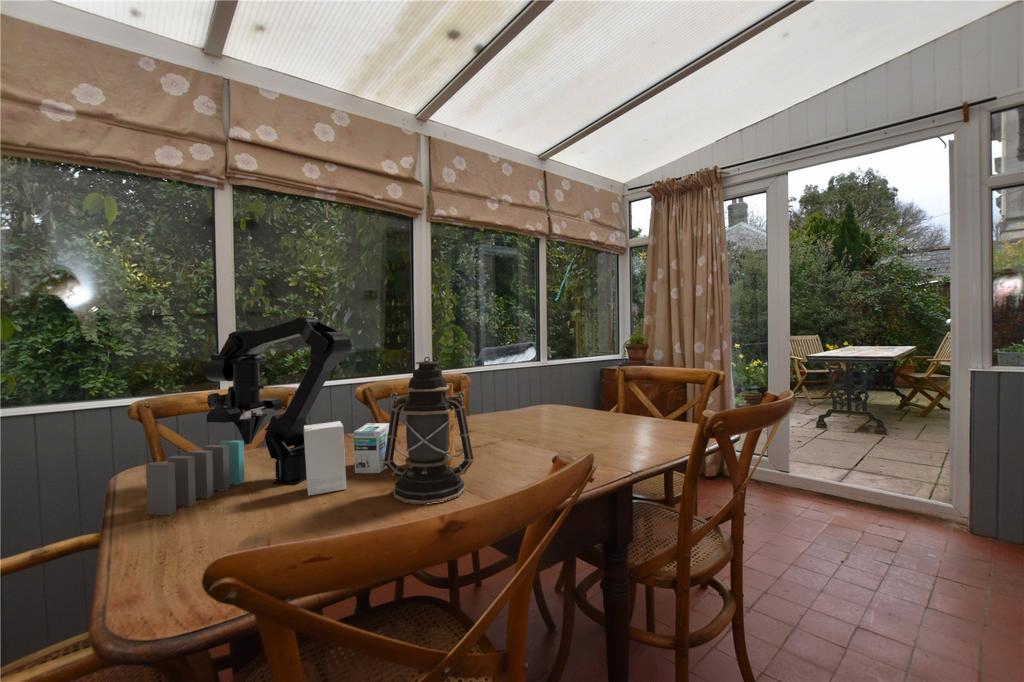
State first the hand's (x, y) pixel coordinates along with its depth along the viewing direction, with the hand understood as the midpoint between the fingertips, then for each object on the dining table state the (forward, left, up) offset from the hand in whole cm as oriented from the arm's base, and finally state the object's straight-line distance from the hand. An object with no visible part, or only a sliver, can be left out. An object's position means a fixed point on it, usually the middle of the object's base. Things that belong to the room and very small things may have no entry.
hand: (248, 444), depth 112 cm
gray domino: (0, +23, -8) cm, 24 cm away
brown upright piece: (-43, -14, -8) cm, 46 cm away
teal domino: (0, +5, -8) cm, 9 cm away
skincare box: (-25, +6, -8) cm, 27 cm away
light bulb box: (-28, -11, -8) cm, 31 cm away
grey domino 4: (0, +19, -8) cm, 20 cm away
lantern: (-49, +4, -8) cm, 50 cm away
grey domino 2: (0, +10, -8) cm, 12 cm away
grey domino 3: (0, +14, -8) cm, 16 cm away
